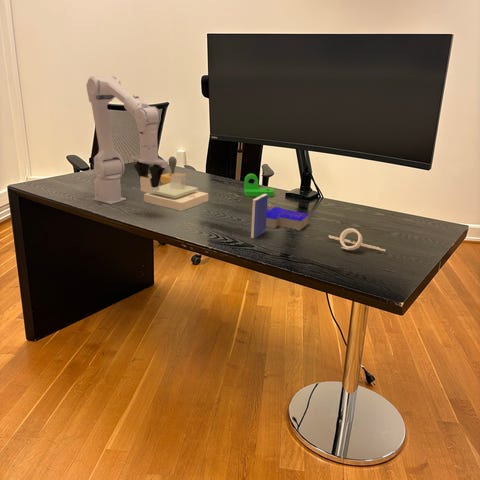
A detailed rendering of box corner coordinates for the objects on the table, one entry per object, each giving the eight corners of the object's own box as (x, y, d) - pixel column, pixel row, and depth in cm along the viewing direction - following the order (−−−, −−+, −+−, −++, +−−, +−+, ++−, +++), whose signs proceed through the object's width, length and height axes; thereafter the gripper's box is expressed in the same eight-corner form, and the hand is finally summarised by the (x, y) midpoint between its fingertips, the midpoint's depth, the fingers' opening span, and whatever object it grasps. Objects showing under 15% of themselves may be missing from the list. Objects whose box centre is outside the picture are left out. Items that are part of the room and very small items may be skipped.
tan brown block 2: (170, 188, 178) (170, 175, 176) (175, 185, 182) (175, 172, 180) (181, 189, 176) (180, 176, 175) (186, 186, 180) (185, 173, 178)
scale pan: (147, 192, 175) (147, 189, 175) (172, 184, 186) (172, 182, 186) (174, 198, 169) (174, 195, 168) (198, 190, 180) (198, 187, 179)
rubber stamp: (160, 183, 203) (159, 155, 198) (169, 181, 207) (169, 154, 203) (176, 187, 197) (176, 159, 193) (186, 185, 201) (186, 157, 197)
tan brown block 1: (140, 190, 158) (140, 176, 156) (149, 188, 162) (149, 174, 160) (150, 193, 156) (150, 178, 154) (159, 190, 159) (159, 176, 158)
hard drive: (266, 231, 150) (268, 194, 146) (254, 239, 144) (256, 200, 139) (261, 230, 151) (263, 193, 147) (250, 238, 144) (252, 199, 140)
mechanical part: (245, 196, 189) (246, 176, 186) (243, 192, 194) (244, 173, 191) (274, 196, 190) (275, 177, 187) (272, 192, 195) (273, 174, 192)
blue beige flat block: (268, 216, 166) (269, 202, 164) (308, 224, 159) (309, 209, 157) (254, 225, 156) (255, 210, 155) (296, 234, 150) (297, 218, 148)
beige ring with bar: (316, 241, 138) (322, 220, 138) (326, 248, 146) (332, 228, 147) (375, 256, 129) (382, 233, 129) (383, 263, 137) (389, 242, 138)
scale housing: (144, 201, 176) (143, 192, 175) (171, 193, 189) (171, 184, 187) (181, 211, 167) (181, 201, 166) (208, 201, 180) (208, 192, 179)
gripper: (123, 144, 154) (125, 184, 158) (157, 149, 146) (158, 191, 151) (138, 141, 159) (140, 180, 164) (171, 146, 152) (172, 187, 157)
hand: (150, 185), depth 158 cm, fingers closed on tan brown block 1, 4 cm apart
